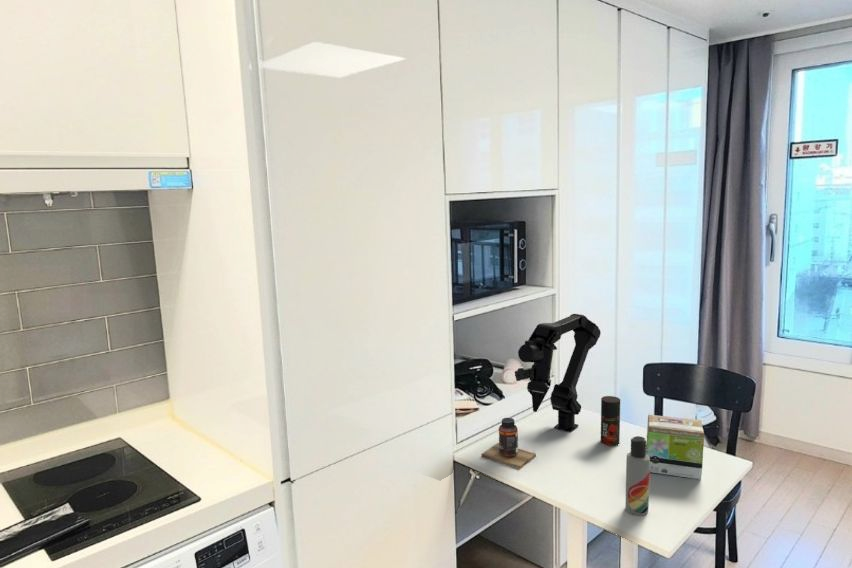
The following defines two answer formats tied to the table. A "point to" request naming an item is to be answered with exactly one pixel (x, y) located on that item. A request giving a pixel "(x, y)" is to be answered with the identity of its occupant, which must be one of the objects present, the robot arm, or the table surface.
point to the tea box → (675, 446)
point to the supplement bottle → (508, 438)
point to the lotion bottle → (637, 477)
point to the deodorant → (610, 420)
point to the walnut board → (515, 461)
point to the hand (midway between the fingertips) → (536, 409)
